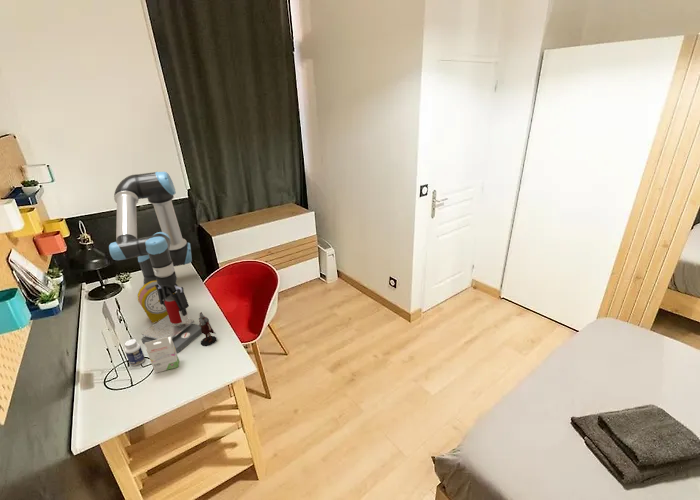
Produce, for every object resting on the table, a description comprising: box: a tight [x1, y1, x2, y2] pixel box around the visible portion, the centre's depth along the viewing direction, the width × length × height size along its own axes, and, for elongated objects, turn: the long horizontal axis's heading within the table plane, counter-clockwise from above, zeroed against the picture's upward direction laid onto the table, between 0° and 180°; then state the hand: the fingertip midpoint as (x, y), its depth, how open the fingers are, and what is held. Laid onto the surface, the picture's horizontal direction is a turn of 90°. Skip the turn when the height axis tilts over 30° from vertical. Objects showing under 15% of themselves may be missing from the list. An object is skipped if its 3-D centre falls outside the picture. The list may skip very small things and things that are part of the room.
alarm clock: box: [137, 281, 168, 324], centre depth 169 cm, size 15×8×18 cm, turn 131°
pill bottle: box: [124, 338, 146, 366], centre depth 141 cm, size 5×5×10 cm
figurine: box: [198, 311, 217, 347], centre depth 150 cm, size 7×7×15 cm
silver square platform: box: [141, 315, 195, 339], centre depth 156 cm, size 15×15×2 cm
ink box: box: [144, 337, 180, 374], centre depth 137 cm, size 9×5×15 cm, turn 110°
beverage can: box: [165, 295, 182, 324], centre depth 154 cm, size 7×7×12 cm
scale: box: [140, 322, 203, 354], centre depth 156 cm, size 16×20×3 cm
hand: (178, 319), depth 156 cm, fingers closed on beverage can, 7 cm apart
